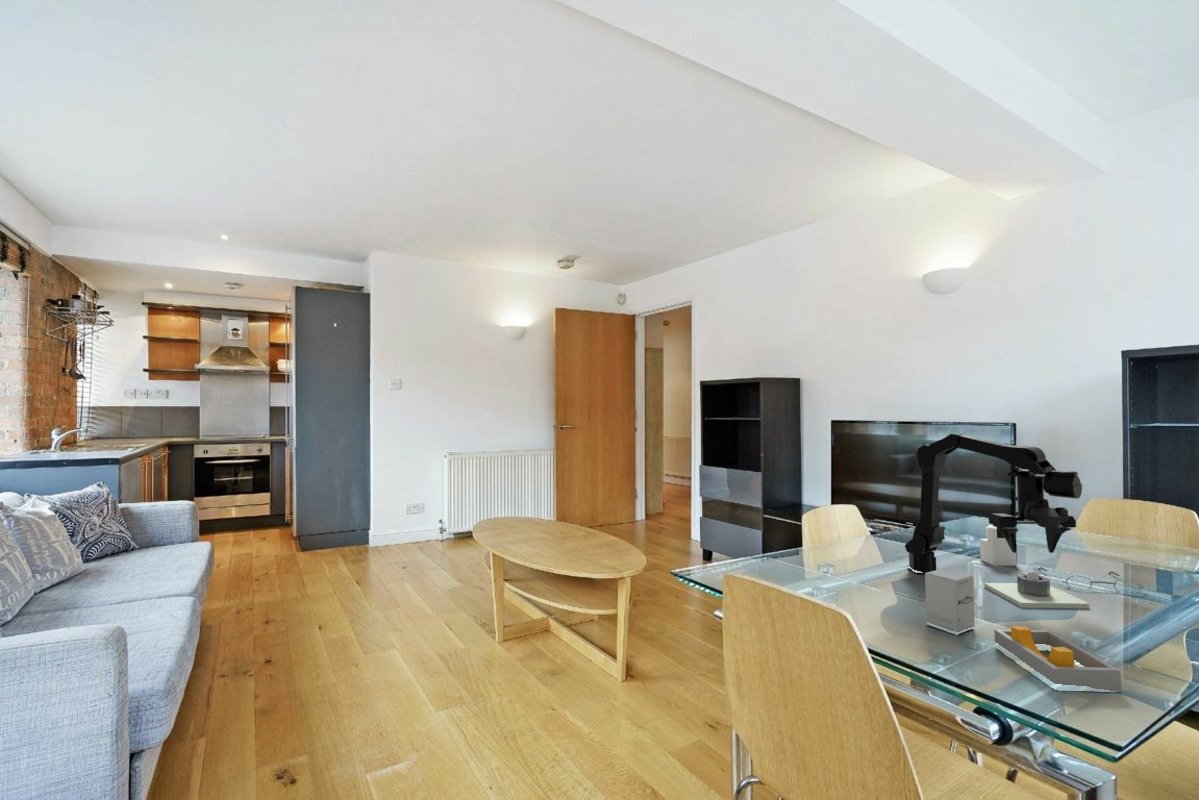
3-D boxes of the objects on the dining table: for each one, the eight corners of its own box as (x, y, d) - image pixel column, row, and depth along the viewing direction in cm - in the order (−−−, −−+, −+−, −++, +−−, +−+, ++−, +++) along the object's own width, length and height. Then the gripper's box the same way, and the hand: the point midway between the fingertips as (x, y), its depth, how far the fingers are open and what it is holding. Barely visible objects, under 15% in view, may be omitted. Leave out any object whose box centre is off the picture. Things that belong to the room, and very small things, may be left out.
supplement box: (957, 636, 125) (955, 580, 125) (925, 625, 131) (923, 572, 132) (976, 629, 128) (974, 575, 128) (943, 619, 135) (942, 567, 135)
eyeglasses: (1063, 589, 155) (1063, 575, 155) (1037, 572, 173) (1036, 559, 173) (1146, 595, 149) (1145, 580, 149) (1109, 577, 167) (1108, 563, 167)
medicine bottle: (1003, 560, 183) (1001, 523, 184) (1017, 566, 176) (1015, 528, 176) (980, 560, 184) (978, 523, 184) (993, 566, 177) (991, 528, 177)
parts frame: (1055, 691, 101) (1054, 668, 101) (995, 648, 118) (994, 629, 119) (1121, 693, 99) (1120, 670, 100) (1050, 649, 117) (1049, 630, 117)
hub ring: (1028, 596, 146) (1028, 581, 146) (1013, 588, 152) (1012, 573, 152) (1055, 596, 145) (1054, 581, 145) (1038, 588, 151) (1037, 574, 151)
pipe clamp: (1084, 686, 102) (1082, 651, 102) (1060, 687, 102) (1059, 651, 102) (1033, 657, 114) (1031, 625, 114) (1012, 657, 114) (1010, 626, 114)
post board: (1021, 607, 141) (1020, 579, 141) (984, 587, 157) (983, 562, 157) (1089, 608, 140) (1088, 580, 140) (1045, 587, 156) (1044, 562, 156)
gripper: (1012, 499, 142) (1014, 560, 141) (1091, 498, 140) (1094, 561, 140) (986, 492, 153) (988, 549, 153) (1059, 492, 151) (1061, 549, 151)
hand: (1032, 552), depth 149 cm, fingers open, 9 cm apart
